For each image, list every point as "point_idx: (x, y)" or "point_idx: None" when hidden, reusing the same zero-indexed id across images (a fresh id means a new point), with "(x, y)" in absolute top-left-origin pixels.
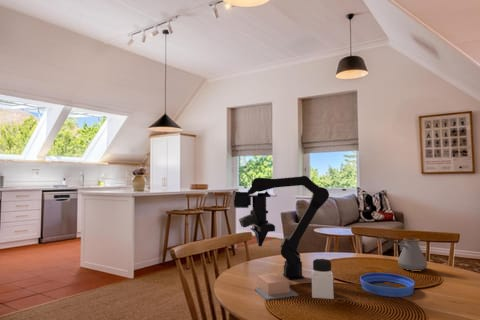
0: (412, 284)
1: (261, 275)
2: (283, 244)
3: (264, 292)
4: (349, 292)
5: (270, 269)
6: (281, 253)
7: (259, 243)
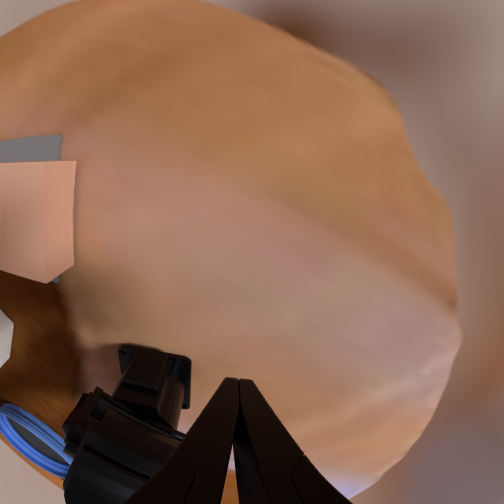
0: (34, 456)
1: (33, 180)
2: (73, 468)
3: (17, 159)
4: (12, 381)
5: (313, 357)
6: (102, 418)
7: (211, 404)
